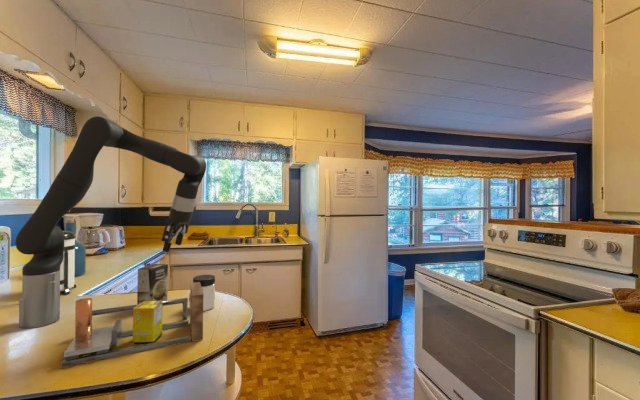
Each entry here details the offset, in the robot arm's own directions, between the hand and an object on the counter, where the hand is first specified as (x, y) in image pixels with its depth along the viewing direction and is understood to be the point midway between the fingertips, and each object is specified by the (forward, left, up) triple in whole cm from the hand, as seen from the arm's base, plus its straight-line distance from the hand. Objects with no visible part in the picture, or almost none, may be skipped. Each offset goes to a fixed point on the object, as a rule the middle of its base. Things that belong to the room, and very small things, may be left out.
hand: (172, 247), depth 107 cm
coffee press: (-46, +44, -25) cm, 68 cm away
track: (-10, -20, -24) cm, 33 cm away
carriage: (-19, -20, -23) cm, 36 cm away
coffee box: (-7, +9, -25) cm, 27 cm away
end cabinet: (+7, -20, -24) cm, 32 cm away
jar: (+11, 0, -25) cm, 27 cm away
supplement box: (-6, -20, -25) cm, 32 cm away
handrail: (-10, -9, -24) cm, 28 cm away
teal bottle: (-50, +77, -25) cm, 95 cm away
